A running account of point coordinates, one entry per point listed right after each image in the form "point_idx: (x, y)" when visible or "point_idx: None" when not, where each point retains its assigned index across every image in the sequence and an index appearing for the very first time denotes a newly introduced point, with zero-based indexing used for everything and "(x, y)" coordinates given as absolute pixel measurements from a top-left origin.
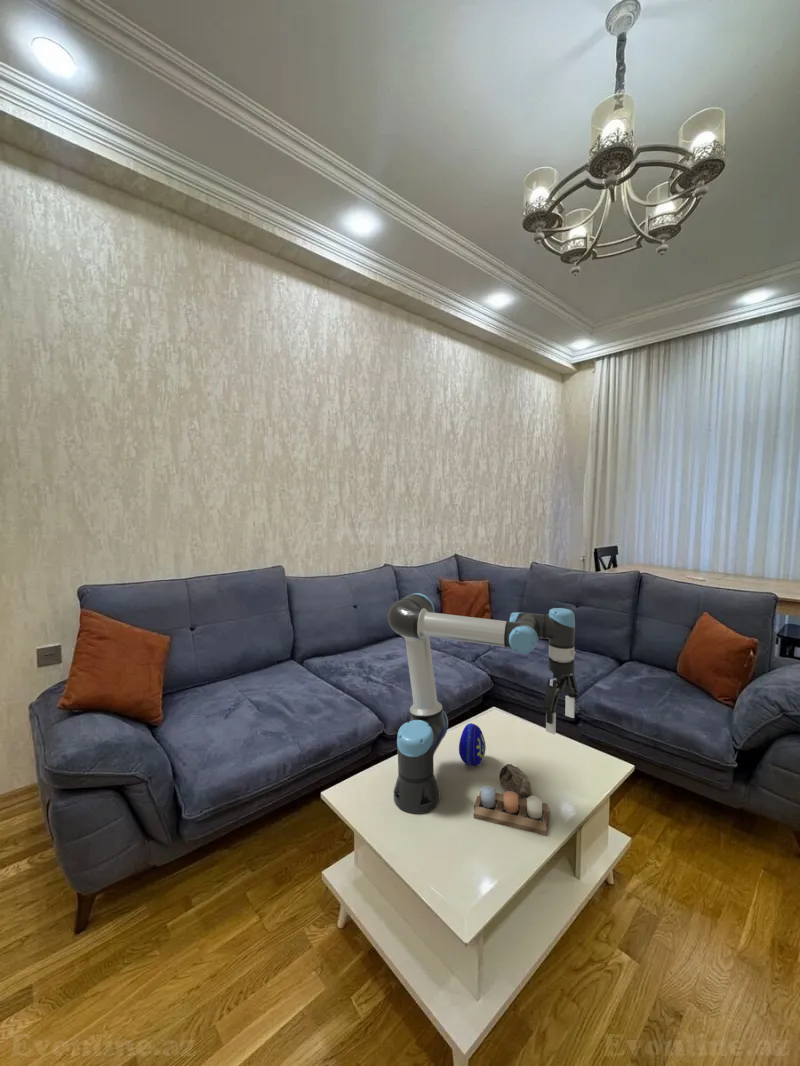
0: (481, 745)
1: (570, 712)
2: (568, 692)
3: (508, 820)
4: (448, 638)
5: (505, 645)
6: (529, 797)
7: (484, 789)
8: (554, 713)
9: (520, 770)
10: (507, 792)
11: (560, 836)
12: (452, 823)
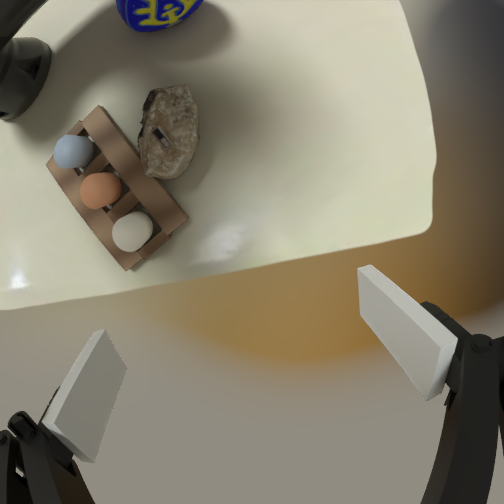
0: (159, 6)
1: (373, 315)
2: (453, 413)
3: (83, 213)
4: None
5: None
6: (126, 219)
7: (63, 143)
8: (81, 460)
9: (187, 121)
10: (95, 177)
11: (152, 283)
12: (23, 159)
